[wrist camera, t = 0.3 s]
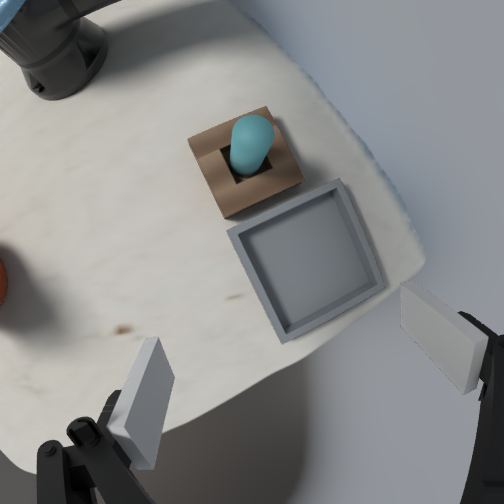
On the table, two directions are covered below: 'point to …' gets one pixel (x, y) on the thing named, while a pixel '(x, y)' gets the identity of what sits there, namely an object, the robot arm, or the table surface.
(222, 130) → the hole block
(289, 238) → the tray
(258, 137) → the ball
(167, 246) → the table surface
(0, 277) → the potted plant
